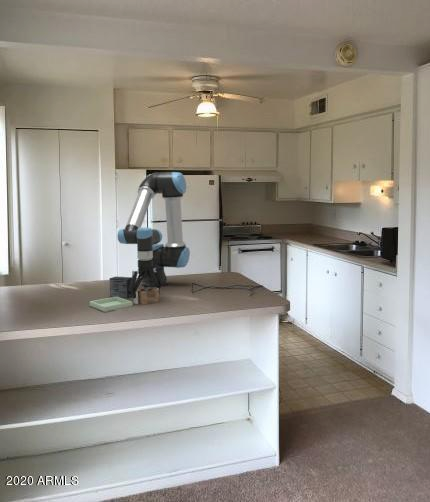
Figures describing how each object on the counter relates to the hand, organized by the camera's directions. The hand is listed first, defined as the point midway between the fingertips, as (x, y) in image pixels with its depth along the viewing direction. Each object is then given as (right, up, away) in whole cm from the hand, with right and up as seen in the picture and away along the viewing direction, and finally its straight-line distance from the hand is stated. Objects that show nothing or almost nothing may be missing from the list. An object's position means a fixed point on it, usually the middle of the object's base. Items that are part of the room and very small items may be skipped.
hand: (146, 302), depth 256 cm
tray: (-16, -1, -7) cm, 18 cm away
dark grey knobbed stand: (0, 0, 0) cm, 0 cm away
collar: (0, 0, 0) cm, 0 cm away
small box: (-15, +1, +13) cm, 19 cm away
